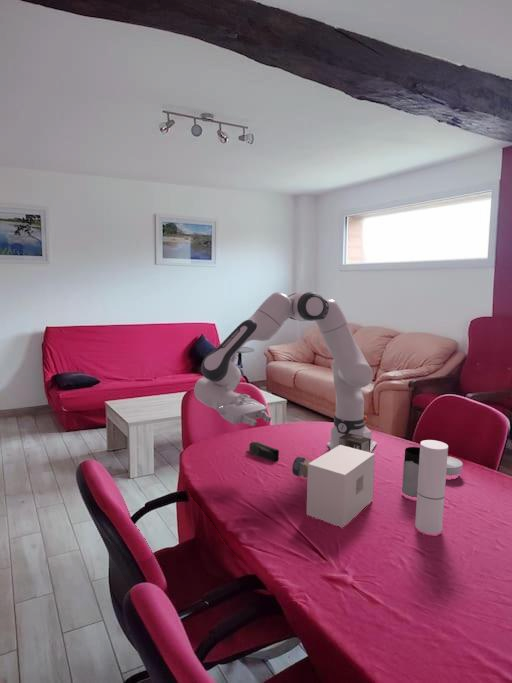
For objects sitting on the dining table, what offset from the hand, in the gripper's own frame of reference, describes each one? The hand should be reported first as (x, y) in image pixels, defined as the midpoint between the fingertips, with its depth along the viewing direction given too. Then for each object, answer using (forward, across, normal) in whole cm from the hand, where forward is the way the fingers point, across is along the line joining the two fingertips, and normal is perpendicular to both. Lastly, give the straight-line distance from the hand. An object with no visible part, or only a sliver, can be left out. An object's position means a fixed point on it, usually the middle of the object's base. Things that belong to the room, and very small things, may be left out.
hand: (262, 421), depth 156 cm
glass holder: (+50, +24, +6) cm, 56 cm away
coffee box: (+31, +19, +12) cm, 38 cm away
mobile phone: (-6, +21, +22) cm, 31 cm away
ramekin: (+55, +44, +2) cm, 70 cm away
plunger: (+25, 0, +9) cm, 26 cm away
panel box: (+34, 0, +13) cm, 37 cm away
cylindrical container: (+59, +3, +6) cm, 59 cm away
